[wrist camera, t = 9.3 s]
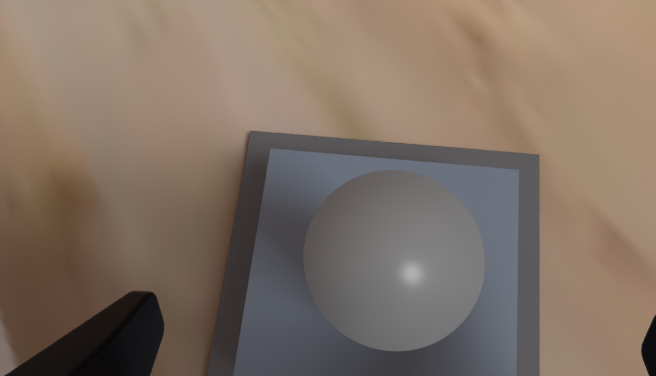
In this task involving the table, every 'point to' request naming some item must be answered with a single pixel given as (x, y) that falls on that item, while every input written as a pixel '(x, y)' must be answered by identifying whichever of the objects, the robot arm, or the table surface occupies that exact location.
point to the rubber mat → (264, 141)
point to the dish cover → (382, 269)
